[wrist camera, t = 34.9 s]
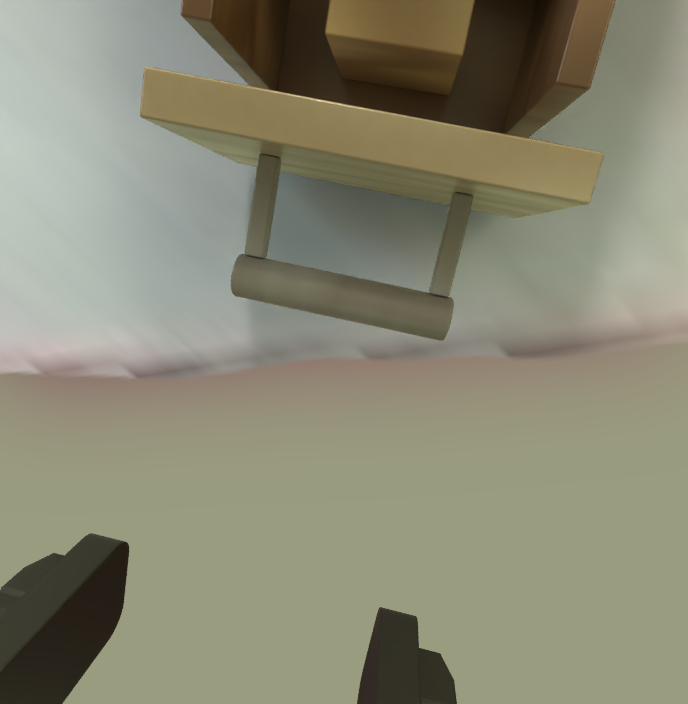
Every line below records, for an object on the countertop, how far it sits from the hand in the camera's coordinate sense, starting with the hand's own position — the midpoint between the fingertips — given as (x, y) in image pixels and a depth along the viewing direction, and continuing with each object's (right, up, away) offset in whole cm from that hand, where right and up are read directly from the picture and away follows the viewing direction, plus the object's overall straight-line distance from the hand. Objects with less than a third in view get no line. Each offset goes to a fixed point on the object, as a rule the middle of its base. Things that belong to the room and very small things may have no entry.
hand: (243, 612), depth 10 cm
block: (+4, +17, +8) cm, 19 cm away
